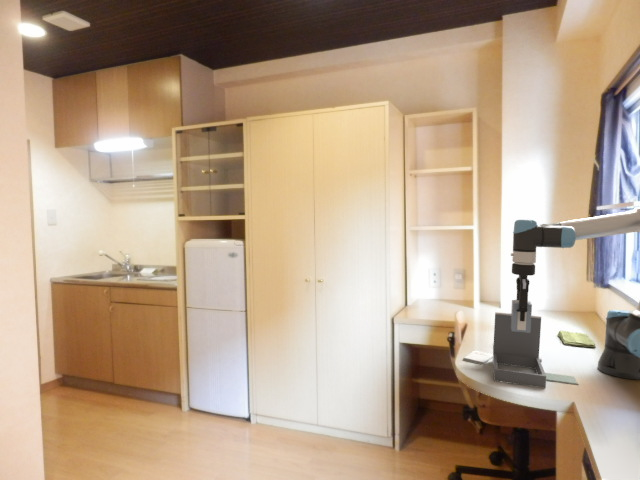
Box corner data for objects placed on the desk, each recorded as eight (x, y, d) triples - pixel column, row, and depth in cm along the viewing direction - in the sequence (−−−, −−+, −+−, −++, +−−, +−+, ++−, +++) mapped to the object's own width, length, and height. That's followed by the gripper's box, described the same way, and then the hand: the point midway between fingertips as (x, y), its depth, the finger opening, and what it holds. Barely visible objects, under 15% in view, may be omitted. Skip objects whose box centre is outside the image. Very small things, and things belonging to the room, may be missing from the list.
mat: (574, 377, 160) (574, 376, 160) (578, 384, 154) (578, 383, 154) (543, 373, 164) (543, 372, 164) (545, 380, 157) (545, 379, 157)
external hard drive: (462, 361, 176) (473, 353, 186) (484, 366, 171) (494, 358, 181) (463, 357, 176) (473, 349, 186) (484, 362, 171) (494, 354, 181)
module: (528, 328, 163) (530, 300, 162) (530, 332, 157) (531, 303, 156) (510, 326, 165) (512, 299, 164) (511, 331, 159) (513, 302, 158)
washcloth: (563, 346, 199) (563, 339, 198) (556, 335, 215) (557, 329, 215) (597, 350, 194) (597, 342, 194) (587, 339, 211) (588, 332, 211)
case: (540, 367, 170) (543, 316, 168) (548, 388, 150) (551, 330, 148) (492, 361, 175) (495, 311, 174) (494, 380, 156) (497, 325, 154)
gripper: (510, 259, 169) (507, 320, 171) (514, 265, 152) (510, 333, 153) (532, 260, 167) (529, 322, 169) (538, 267, 149) (535, 335, 151)
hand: (520, 327), depth 161 cm, fingers closed on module, 6 cm apart
